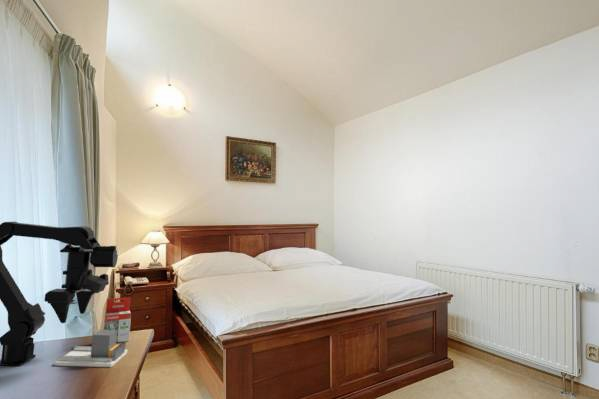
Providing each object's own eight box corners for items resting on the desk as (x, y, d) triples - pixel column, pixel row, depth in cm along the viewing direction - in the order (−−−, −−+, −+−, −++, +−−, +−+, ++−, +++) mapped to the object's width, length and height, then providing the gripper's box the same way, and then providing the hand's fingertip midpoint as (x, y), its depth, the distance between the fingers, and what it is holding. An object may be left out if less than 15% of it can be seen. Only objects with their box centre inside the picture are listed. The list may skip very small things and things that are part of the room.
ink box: (129, 341, 113) (132, 299, 114) (102, 345, 109) (106, 301, 110) (128, 337, 116) (131, 296, 117) (102, 341, 112) (106, 298, 113)
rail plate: (54, 365, 93) (55, 351, 93) (76, 351, 103) (77, 338, 103) (111, 367, 94) (112, 353, 94) (127, 352, 104) (128, 340, 104)
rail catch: (108, 358, 97) (108, 350, 97) (115, 352, 101) (116, 344, 101) (112, 358, 97) (112, 350, 97) (119, 352, 101) (120, 344, 101)
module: (90, 358, 96) (92, 334, 97) (98, 352, 101) (100, 329, 101) (107, 359, 97) (109, 335, 97) (115, 352, 101) (117, 330, 102)
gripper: (87, 273, 91) (81, 329, 90) (119, 263, 109) (115, 310, 109) (45, 271, 90) (40, 328, 89) (85, 262, 109) (81, 309, 108)
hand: (73, 318), depth 99 cm, fingers open, 9 cm apart
